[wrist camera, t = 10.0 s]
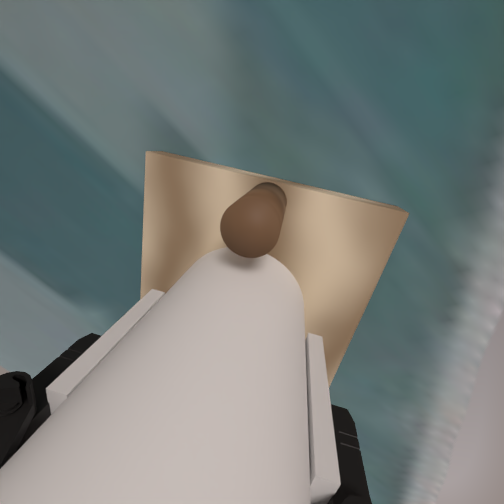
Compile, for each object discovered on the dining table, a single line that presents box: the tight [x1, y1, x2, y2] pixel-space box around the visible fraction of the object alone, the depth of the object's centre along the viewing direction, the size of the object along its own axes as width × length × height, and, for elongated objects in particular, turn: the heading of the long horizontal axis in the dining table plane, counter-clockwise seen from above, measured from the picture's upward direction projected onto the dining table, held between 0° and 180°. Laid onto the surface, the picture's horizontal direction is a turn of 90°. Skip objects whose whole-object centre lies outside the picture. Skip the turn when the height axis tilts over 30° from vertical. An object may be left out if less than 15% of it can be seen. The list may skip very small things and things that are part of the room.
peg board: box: [140, 151, 409, 386], centre depth 16 cm, size 16×16×8 cm
